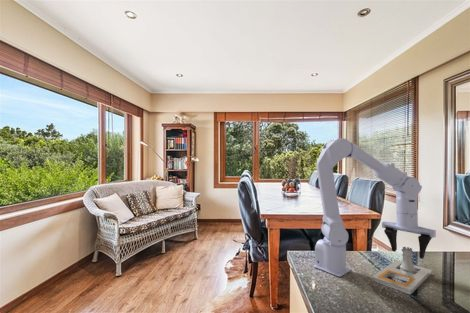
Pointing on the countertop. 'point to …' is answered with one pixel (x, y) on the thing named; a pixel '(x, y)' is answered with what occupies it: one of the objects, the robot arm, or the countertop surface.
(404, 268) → the rook chess piece
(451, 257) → the countertop surface
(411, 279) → the rail plate
